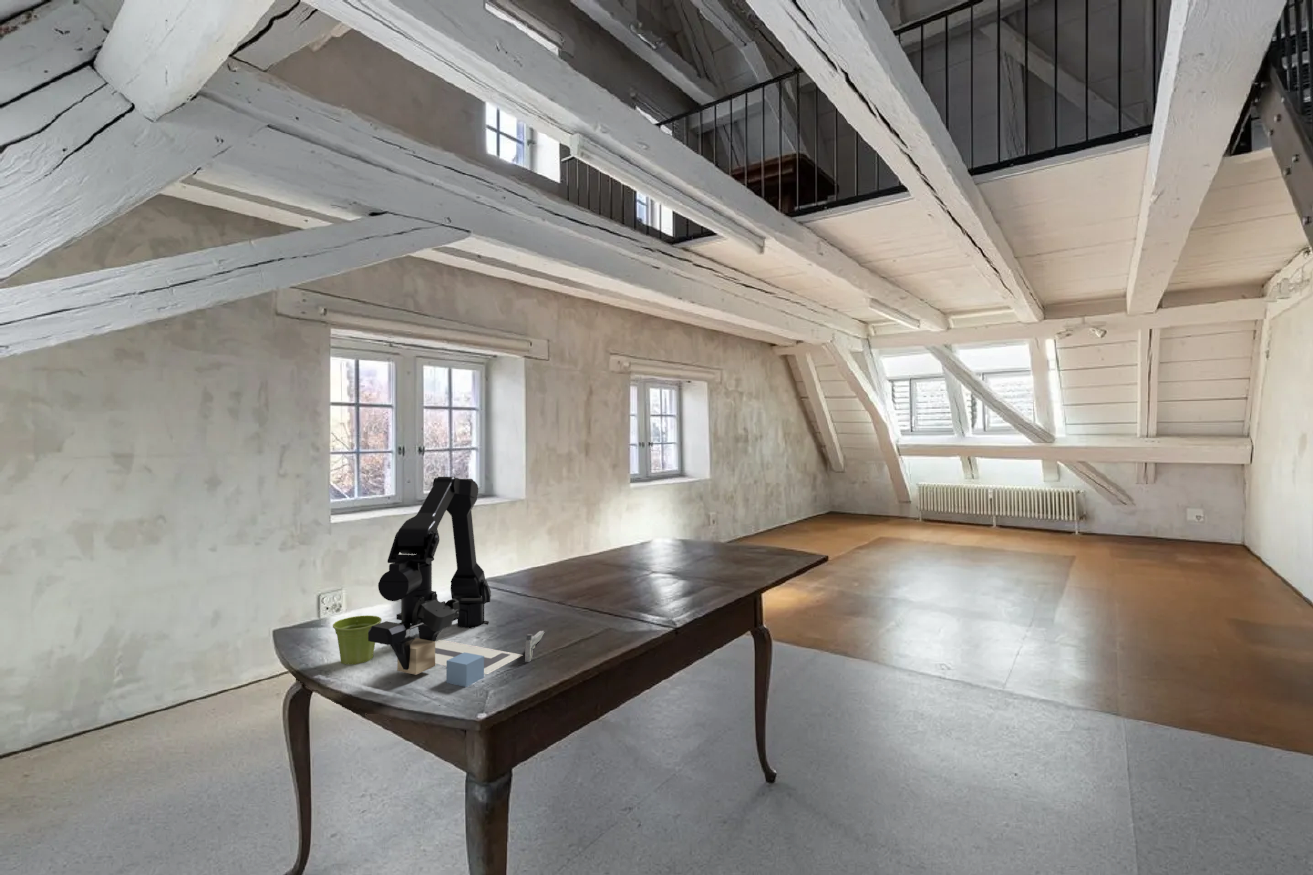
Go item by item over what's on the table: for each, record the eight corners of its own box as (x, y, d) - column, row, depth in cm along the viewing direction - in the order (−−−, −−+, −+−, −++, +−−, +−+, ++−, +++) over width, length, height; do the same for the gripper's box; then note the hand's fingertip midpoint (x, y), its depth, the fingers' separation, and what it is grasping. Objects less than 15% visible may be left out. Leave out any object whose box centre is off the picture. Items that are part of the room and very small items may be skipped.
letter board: (440, 642, 141) (440, 639, 141) (523, 657, 131) (523, 654, 131) (399, 658, 130) (399, 656, 130) (486, 677, 120) (486, 674, 120)
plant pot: (387, 662, 128) (388, 621, 128) (340, 673, 121) (340, 631, 121) (372, 651, 135) (372, 612, 135) (326, 661, 128) (326, 621, 128)
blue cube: (464, 676, 120) (464, 652, 120) (483, 681, 118) (484, 655, 118) (446, 686, 116) (446, 660, 116) (466, 690, 114) (466, 664, 114)
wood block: (416, 662, 123) (416, 638, 123) (435, 665, 121) (435, 641, 121) (397, 670, 119) (397, 645, 119) (416, 674, 117) (416, 649, 117)
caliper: (530, 666, 127) (530, 636, 127) (525, 666, 127) (525, 636, 127) (544, 634, 147) (544, 609, 147) (540, 634, 147) (540, 609, 147)
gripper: (409, 604, 108) (409, 689, 108) (479, 581, 125) (479, 655, 125) (366, 597, 113) (365, 679, 113) (439, 576, 130) (438, 647, 130)
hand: (416, 664), depth 120 cm, fingers closed on wood block, 5 cm apart
